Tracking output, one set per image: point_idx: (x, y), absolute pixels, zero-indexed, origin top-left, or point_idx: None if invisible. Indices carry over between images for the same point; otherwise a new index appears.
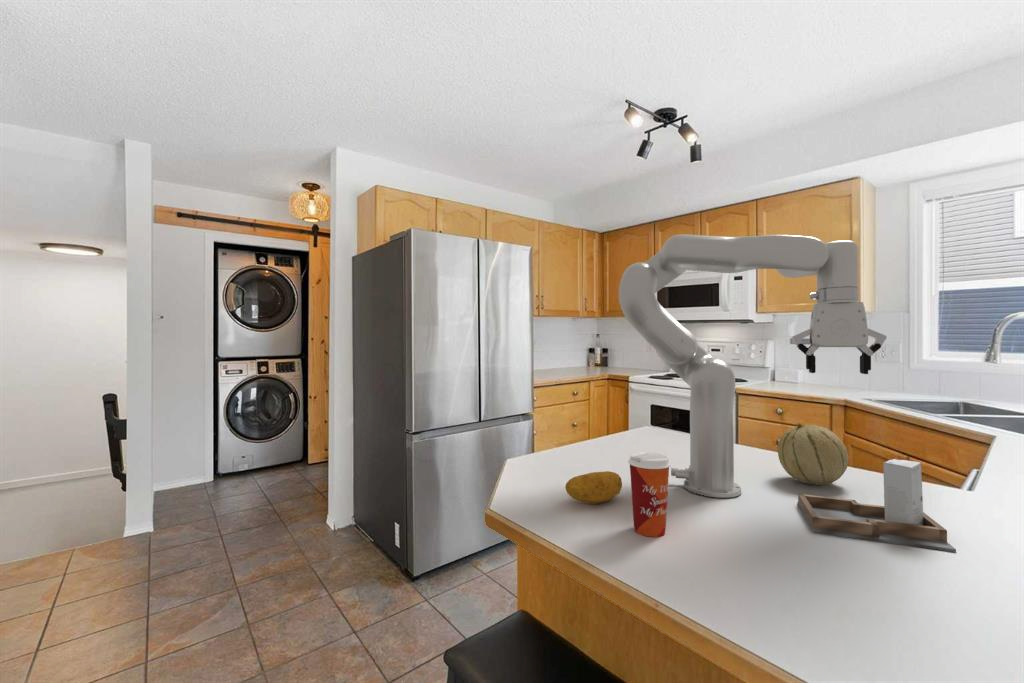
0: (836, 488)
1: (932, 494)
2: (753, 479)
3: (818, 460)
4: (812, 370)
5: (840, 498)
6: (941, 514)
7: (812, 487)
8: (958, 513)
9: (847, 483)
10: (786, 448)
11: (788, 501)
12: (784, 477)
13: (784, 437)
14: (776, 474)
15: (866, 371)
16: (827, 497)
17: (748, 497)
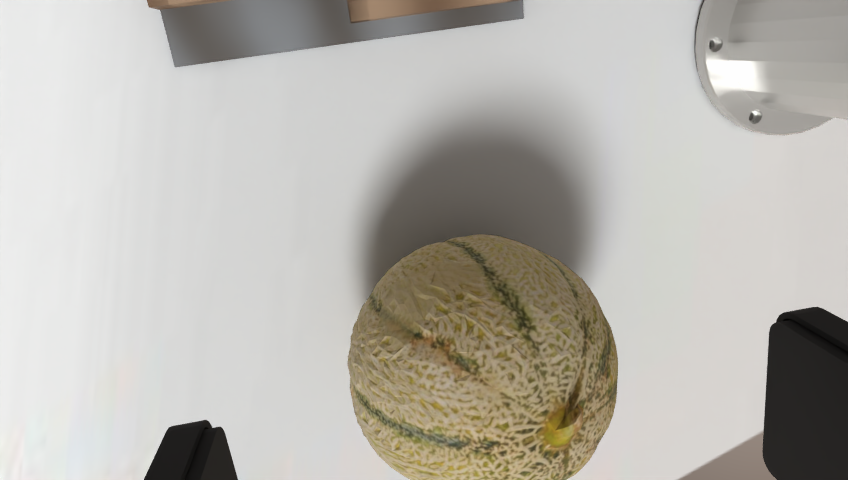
0: None
1: (102, 391)
2: (640, 251)
3: (466, 247)
4: (827, 318)
5: (396, 13)
6: (95, 160)
7: None
8: (45, 203)
9: (346, 376)
10: (591, 294)
11: (547, 33)
12: None
13: (612, 355)
14: None
15: (185, 436)
16: (438, 3)
17: (672, 5)
